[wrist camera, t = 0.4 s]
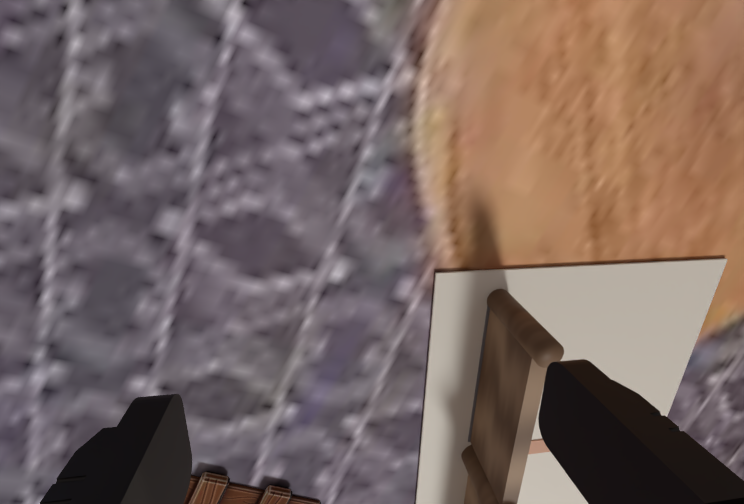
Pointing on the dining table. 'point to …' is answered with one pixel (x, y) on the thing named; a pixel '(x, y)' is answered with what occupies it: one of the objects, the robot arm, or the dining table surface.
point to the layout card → (580, 341)
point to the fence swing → (470, 494)
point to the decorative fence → (237, 492)
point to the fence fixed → (507, 398)
